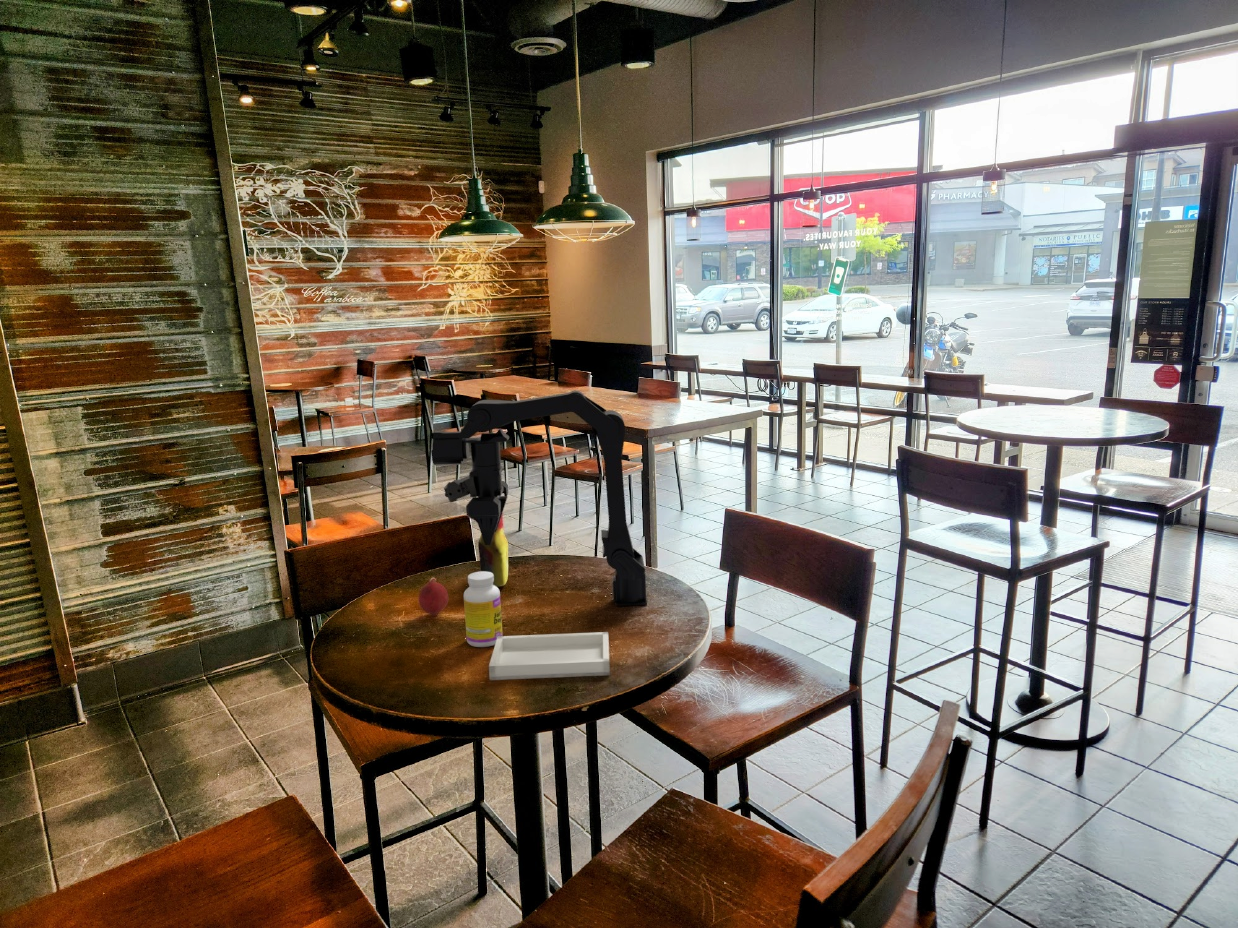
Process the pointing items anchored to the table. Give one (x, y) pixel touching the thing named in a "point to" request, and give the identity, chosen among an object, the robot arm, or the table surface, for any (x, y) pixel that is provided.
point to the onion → (433, 597)
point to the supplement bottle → (482, 610)
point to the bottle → (495, 556)
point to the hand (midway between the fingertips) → (490, 538)
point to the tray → (550, 656)
